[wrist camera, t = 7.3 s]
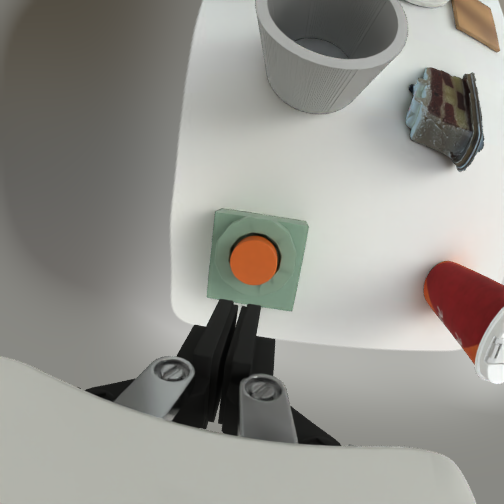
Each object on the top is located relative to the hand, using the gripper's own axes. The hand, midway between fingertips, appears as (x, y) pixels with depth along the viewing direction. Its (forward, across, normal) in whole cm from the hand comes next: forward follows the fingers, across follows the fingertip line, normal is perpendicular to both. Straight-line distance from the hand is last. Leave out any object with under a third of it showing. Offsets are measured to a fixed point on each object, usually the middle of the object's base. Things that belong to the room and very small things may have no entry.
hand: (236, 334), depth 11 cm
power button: (+13, 0, 0) cm, 13 cm away
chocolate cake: (+17, -16, -17) cm, 29 cm away
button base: (+17, 0, +1) cm, 17 cm away
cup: (+17, -2, -17) cm, 24 cm away
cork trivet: (+17, -23, -34) cm, 44 cm away
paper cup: (+17, -21, +1) cm, 27 cm away
